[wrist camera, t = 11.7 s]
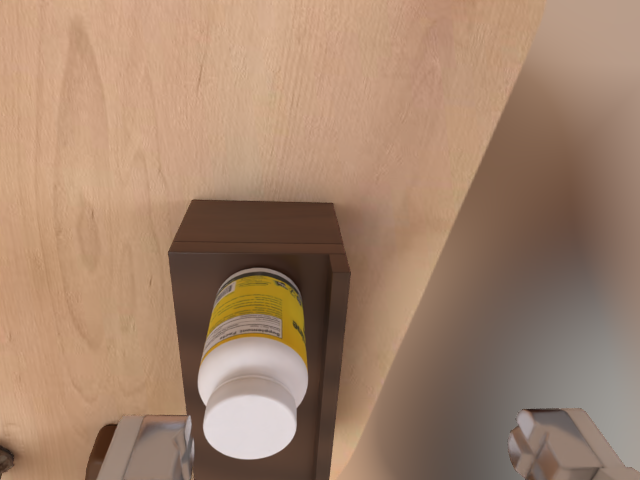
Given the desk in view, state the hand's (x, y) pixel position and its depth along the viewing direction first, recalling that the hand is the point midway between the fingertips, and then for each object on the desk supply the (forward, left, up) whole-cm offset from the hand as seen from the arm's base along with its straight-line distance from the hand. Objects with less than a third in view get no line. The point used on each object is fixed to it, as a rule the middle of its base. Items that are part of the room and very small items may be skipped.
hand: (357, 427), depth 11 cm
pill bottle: (+10, -3, -19) cm, 22 cm away
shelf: (+20, -3, -28) cm, 34 cm away
